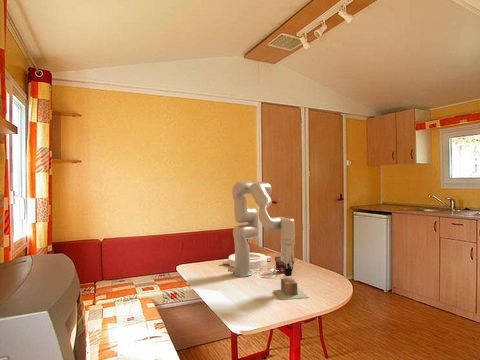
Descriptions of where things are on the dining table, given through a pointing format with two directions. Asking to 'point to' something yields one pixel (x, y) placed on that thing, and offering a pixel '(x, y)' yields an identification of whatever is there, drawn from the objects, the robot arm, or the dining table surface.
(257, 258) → the white circle with bar
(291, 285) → the walnut block
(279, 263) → the toy fire truck
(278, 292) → the sage mat
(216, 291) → the dining table surface
